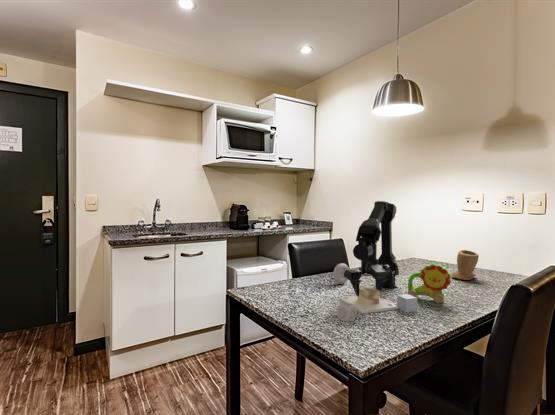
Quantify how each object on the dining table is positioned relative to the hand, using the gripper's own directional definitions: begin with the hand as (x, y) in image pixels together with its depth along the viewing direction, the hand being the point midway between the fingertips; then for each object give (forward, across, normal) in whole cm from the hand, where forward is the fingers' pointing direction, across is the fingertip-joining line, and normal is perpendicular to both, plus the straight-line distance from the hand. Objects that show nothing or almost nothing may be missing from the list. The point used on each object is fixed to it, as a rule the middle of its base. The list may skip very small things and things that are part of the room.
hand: (367, 295), depth 124 cm
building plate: (+4, 0, 0) cm, 4 cm away
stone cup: (+4, +75, +21) cm, 78 cm away
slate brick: (+4, +11, -9) cm, 15 cm away
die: (+4, -16, -11) cm, 20 cm away
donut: (+4, +5, +29) cm, 30 cm away
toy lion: (+4, +28, -2) cm, 28 cm away
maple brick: (+2, 0, 0) cm, 3 cm away
